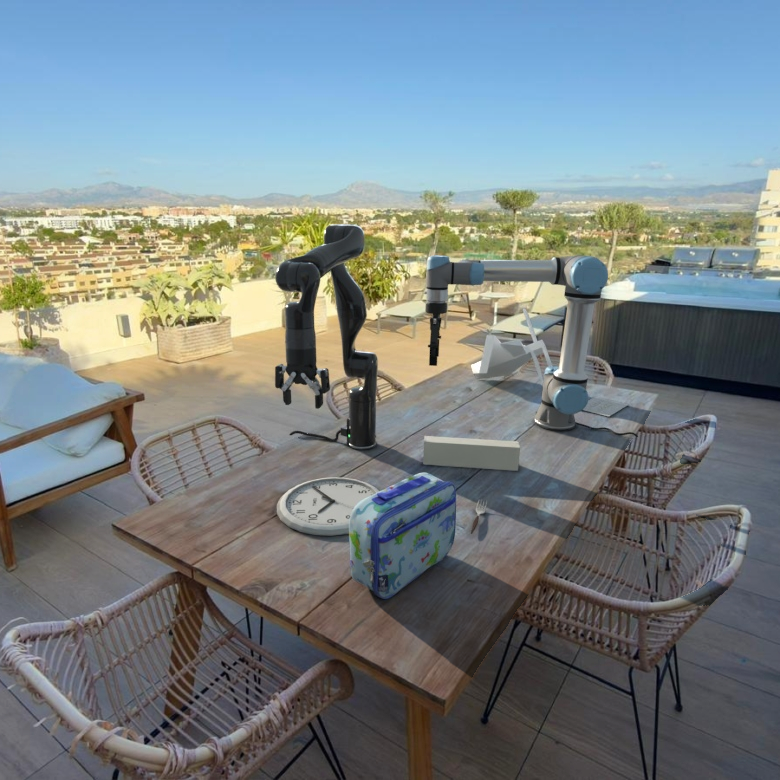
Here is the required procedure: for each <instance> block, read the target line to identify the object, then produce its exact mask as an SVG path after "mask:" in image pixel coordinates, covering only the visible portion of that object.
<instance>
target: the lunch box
mask: <svg viewBox="0 0 780 780" xmlns="http://www.w3.org/2000/svg"><path fill="white" fill-rule="evenodd" d="M456 524H457V489H456V486H455V484H454V483H453V482H452V481H445V480H442V479H440V478H439V477H436V476H434V475H433V474H431V473H429V472H426V471H425V472H424V471H423V472H419V473H416V474H413V475H411V476H409V477H407V478H405V479H403V480H401V481H400V480H399V481H398V482H396V483H395V484H392V485H390V486H388V487H385V488H383V489H382V490H380V492H378V493H376V494H374V495H372V496H370V497H367V498H365V499H363V500H362V501H360V502H359V503H358V504H357V505H356V506H355V507H354V509H353V511H352V513H351V515H350V520H349V534H348V542H349V543H348V544H349V568H350V575H351V577H352V579H353V581H355V582H356V583H359V584H361V585H362V586H364V587H366V588H367V589H369V590H370V591H372V592H373V593H374V595H375V596H377V597H378V598H380V599H384V600H387V599H390V598H392V597H394V596H395V595H396V594H397V593H398V592H400V591H401V590H403V589H404V588H405V587H406V586H407V585H410V584H411V583H412V582H413V581H414V580H416V579H417V578H418V577H419V576H421V575H422V574H423V573H425V571H427V570H428V569H429V568H431V567H433V566H435V565H436V564H438V563H439V562H441V561H442V560H443V559H445V558H446V557H447V556H448V554H449V552H450V551H451V550H452V547H453V545H454V542H455V539H456V538H455V536H456V526H457V525H456Z"/></svg>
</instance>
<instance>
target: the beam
mask: <svg viewBox="0 0 780 780" xmlns="http://www.w3.org/2000/svg"><path fill="white" fill-rule="evenodd" d="M520 455H521V445H520V442H519V441H517V440H516V441H515V440H499V439H486V438H485V439H484V438H483V439H482V438H467V437H466V438H465V437H451V436H450V437H449V436H436V435H435V436H432V435H424V439H423V455H422V456H423V457H422V458H423V460H422V465H425V466H438V467H452V468H454V467H455V468H469V469H484V470H499V471H515V472H518V471H519V463H520Z"/></svg>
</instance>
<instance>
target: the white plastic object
mask: <svg viewBox="0 0 780 780" xmlns="http://www.w3.org/2000/svg"><path fill="white" fill-rule="evenodd" d="M522 312H523V316H524V318H525V321H526V324H527V327H528V330H529V333H530V336H531V339H532V342H531V343H529V344H527V345H525V344H523V342H522V340H521V338H517V339H513V340H508V341H504V342H501V341H500V339H499V338H498V337H497V336H496V335H495V334H486V337H485V342H484V345H483V351H482V355H481V356H482V357H481V360H480V361H477V362H475V363H472V364H471V365H470V367H471V370H472V375H473V376H474V377H475V379H476V380H482V379H490V378H492V379H493V378H501V377H503V378H508V377H511V376H513V373H514V372H515V371H517V370H518V369H520V368H521V367H523V366H524V365H525V364H527V363H529V362H530V361H531V360H532V362H533V364H534V367H535V370H536V373H537V376H538V379H539V382H540V385H541V386H542V388H543V382H544V373H543V371H542V369H541V365H540V363H539V359H538V356H540V355H544V358H545V361H546V364H547V367H554V365H553V362H552V361H551V358H550V354H549V352H548V349H547V346H546V343H545V342H544V340H543V339H540V340H538V338H537V335H536V333H535V329H534V326H533V324H532V321H531V318H530V314H529V313H528V311H527V309H526V308H522Z"/></svg>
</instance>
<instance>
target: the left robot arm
mask: <svg viewBox="0 0 780 780" xmlns="http://www.w3.org/2000/svg"><path fill="white" fill-rule="evenodd" d="M324 229H325V230H324V234H323V244H321V245H318V246H316V247H314V248H312V249H310V250H309V251H308V252H306V253H305V254H303V255H299V256H296V257H292V258H289V259H287V260H285V261H282V262H281V263H280V264H279V265H278V267H277V268H276V270H275V273H274V274H275V275H274V279H275V283H276V285H277V287H278V288H279V289H280V290H281V291H284V292H287V293H301V296H300V299H299V300H296V301H290V302H288V303H287V304H285V306H284V322H285V323H284V324H285V333H284V345H285V346H284V347H285V361H286V362H285V363H286V365H284V363H280V364H278V365H276V366H275V368H274V382H275V383H274V386H275V387H274V388H276V389H279V390H281V391H282V402H283V403H284V405H285V406H290V405H291V404H292V389H290V388H291V387H292V386H293V385H303V386H307V385H308V388H309V389H311V390H312V391H313V393H314V394H315V395H314V407H315V409H317V410H319V409H320V408H322V406H323V405H324V394H326V393H328V392H329V391H330V390H331V382H330V372H329V371H330V370H329V368H326V367H325V368H322V369H321V368H318V367H317V337H316V336H317V335H316V329H315V307H316V306H315V305H316V302H317V296H318V292H319V289H320V285H321V278H323V277H325V276H326V275H327V274H328V273H330V276H331V280H332V287H333V293H334V301H335V307H336V309H335V310H336V314H337V318H338V325H339V331H340V339H341V352H342V353H341V354H342V365H343V366H342V367H343V371H344V374H345V376H346V377H347V378H349V379H357V380H363V381H364V382H363V384H362V385H357V386H354V387H352V388H350V389H349V390H348V418H346V425H343V426H341V427H340V429H339V430H337V431H336V433H335V438H330V437H328V436H325V435H323V434H316V433H311V432H305V431H301V430H293V431H291V432H290V433H289V434H288V436H293V435H295V434H299V435H302V436H308V437H314V438H319V439H323V440H325V441H328V442H336V441H338V440H339V436H342V437H345V438H346V445H347V446H349V447H350V448H351V449H355V450H359V451H362V450H370V449H373V448H375V447H376V445H377V441H376V439H377V388H378V372H379V359H378V356H377V354H376V353H375V352H371V351H360V350H357V349H356V341H357V340H356V339H357V338H358V335H359V334H360V331H362V328H363V327H364V325H365V323H366V321H367V319H368V311H367V301H366V297H365V294H364V292H363V291H362V289H361V288H360V286H359V285H358V284H357V283H356V280H355V279H354V278H353V277H352V275H350V273H349V271H348V269H347V268H346V264H345V263H347V262H349V261H351V260H354V259H357V258H359V257H361V256H362V254H363V253H364V251H365V247H366V235H365V233H364V230H363V228H361V226H359V225H355V224H330V225H327V226H326V227H325V228H324ZM285 373H286V374H287V375H288V378H287V379H286V381H285ZM317 375H318V377H319V379H320V381H319V379H318V378H317ZM307 433H308V434H307Z"/></svg>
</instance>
